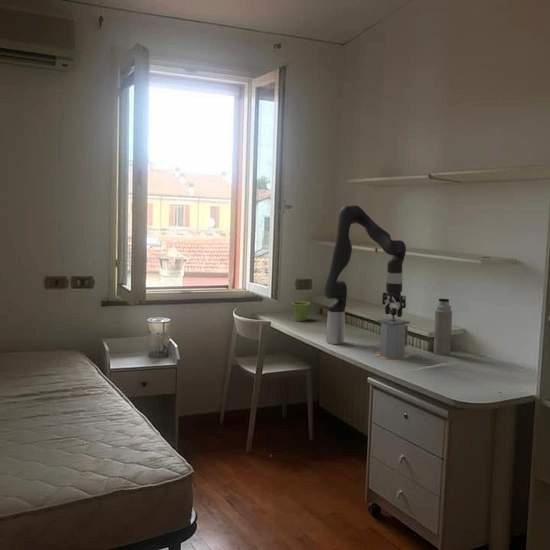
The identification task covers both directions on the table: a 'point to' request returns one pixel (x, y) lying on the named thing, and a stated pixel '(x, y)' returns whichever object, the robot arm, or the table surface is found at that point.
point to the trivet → (406, 356)
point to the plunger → (393, 312)
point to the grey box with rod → (393, 337)
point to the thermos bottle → (443, 328)
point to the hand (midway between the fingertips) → (393, 315)
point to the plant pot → (300, 310)
